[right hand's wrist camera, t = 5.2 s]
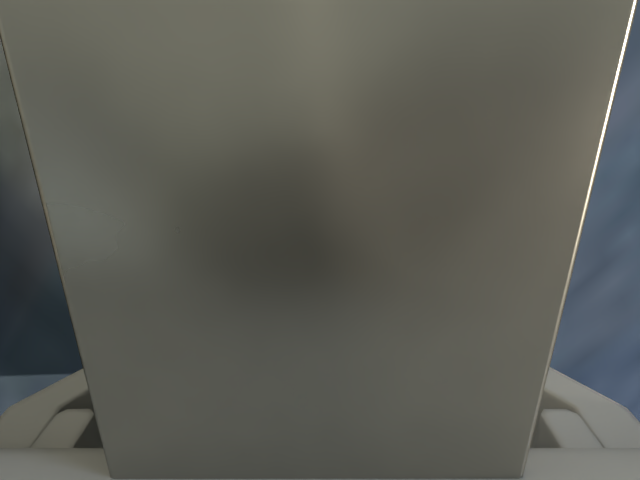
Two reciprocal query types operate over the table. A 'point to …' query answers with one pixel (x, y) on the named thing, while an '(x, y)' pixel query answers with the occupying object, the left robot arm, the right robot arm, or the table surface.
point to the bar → (315, 221)
